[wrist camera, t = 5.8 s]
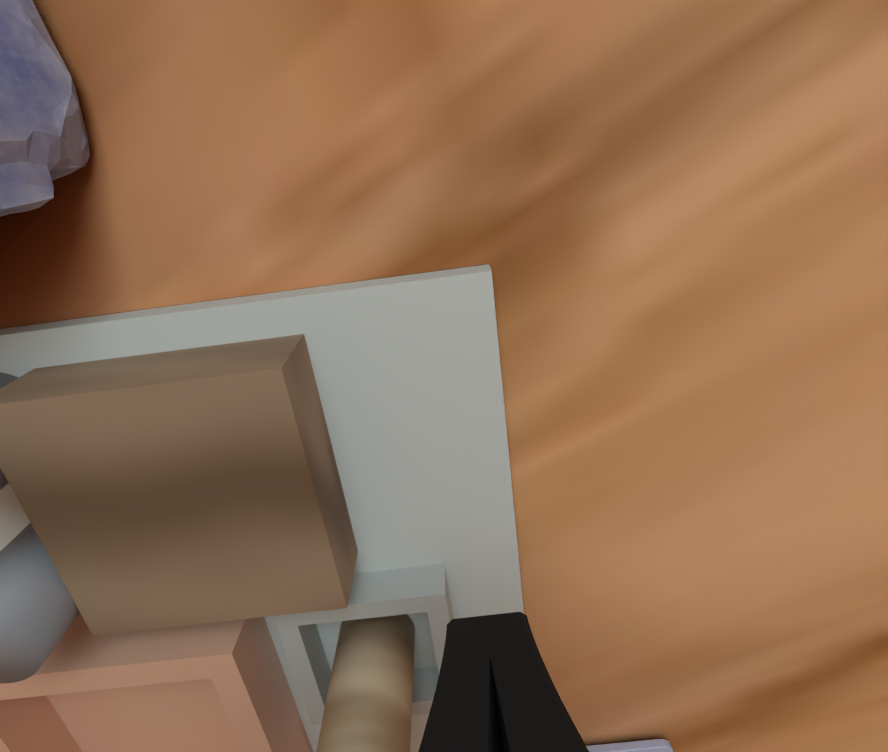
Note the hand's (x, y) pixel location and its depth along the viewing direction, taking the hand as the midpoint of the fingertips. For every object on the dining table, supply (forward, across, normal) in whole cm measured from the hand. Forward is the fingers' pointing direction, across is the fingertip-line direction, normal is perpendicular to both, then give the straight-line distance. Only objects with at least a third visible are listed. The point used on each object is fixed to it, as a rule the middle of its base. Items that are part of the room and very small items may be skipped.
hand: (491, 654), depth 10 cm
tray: (+8, +13, +10) cm, 19 cm away
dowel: (+8, +4, +8) cm, 12 cm away
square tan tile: (+8, +8, 0) cm, 11 cm away
